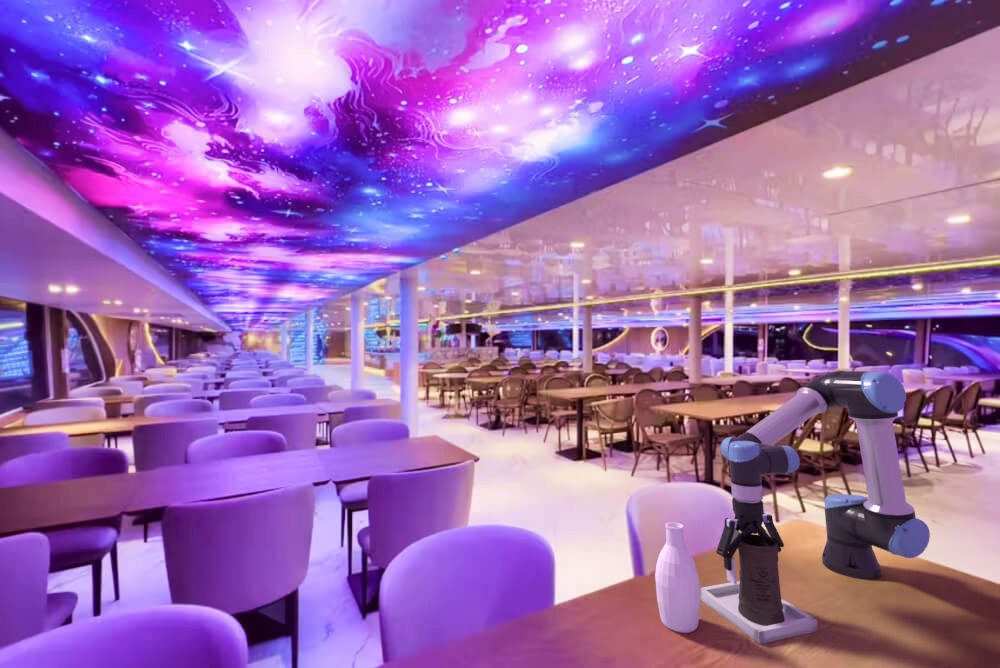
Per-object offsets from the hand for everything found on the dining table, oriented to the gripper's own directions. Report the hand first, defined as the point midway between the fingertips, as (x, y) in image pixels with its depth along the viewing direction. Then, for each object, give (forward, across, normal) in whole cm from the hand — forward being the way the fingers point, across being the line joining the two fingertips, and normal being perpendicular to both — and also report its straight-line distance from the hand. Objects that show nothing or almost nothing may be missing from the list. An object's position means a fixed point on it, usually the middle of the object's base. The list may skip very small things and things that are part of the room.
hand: (752, 577), depth 122 cm
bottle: (+9, +22, -2) cm, 24 cm away
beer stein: (+9, -1, 0) cm, 9 cm away
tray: (+9, 0, 0) cm, 9 cm away
